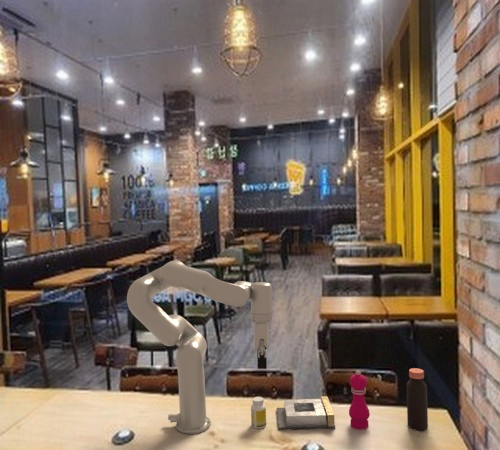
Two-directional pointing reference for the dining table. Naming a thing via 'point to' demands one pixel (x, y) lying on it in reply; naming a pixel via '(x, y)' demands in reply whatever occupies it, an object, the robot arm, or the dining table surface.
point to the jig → (306, 414)
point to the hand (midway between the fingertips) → (261, 363)
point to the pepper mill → (358, 402)
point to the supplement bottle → (258, 413)
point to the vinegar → (417, 400)
